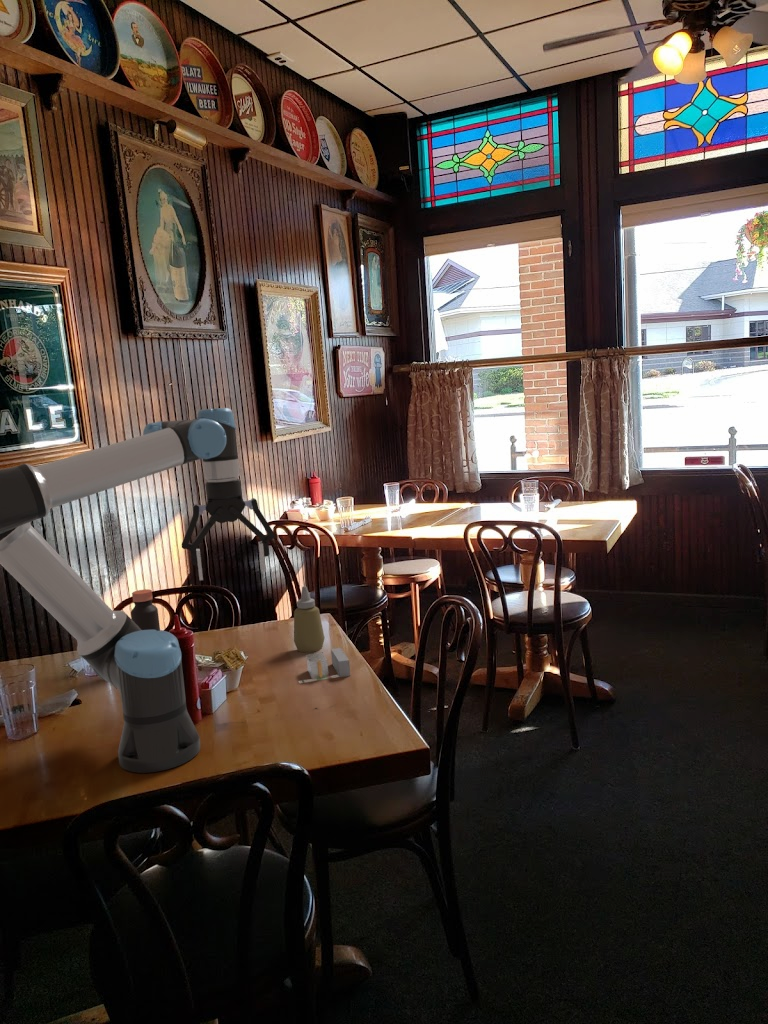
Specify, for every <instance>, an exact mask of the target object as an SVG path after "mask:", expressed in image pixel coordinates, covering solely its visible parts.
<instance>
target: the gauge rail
mask: <svg viewBox="0 0 768 1024" xmlns="http://www.w3.org/2000/svg"><path fill="white" fill-rule="evenodd" d="M330 654H331V664H332V666H333V668H334V670H335V671H336V673H337V674H334V675H329V676H325V677H321V678H320V677H318V678H314V679H312V678H310V679H302V680H298V684H303V683H311V682H317V681H318V682H319V681H322V680H331V679H335V678H345V677H351V668H350V667H351V665H350V659H349V658H348V656H347V654H346V653H345V651H343V649H342V647H337V648H331V649H330Z"/></svg>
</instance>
